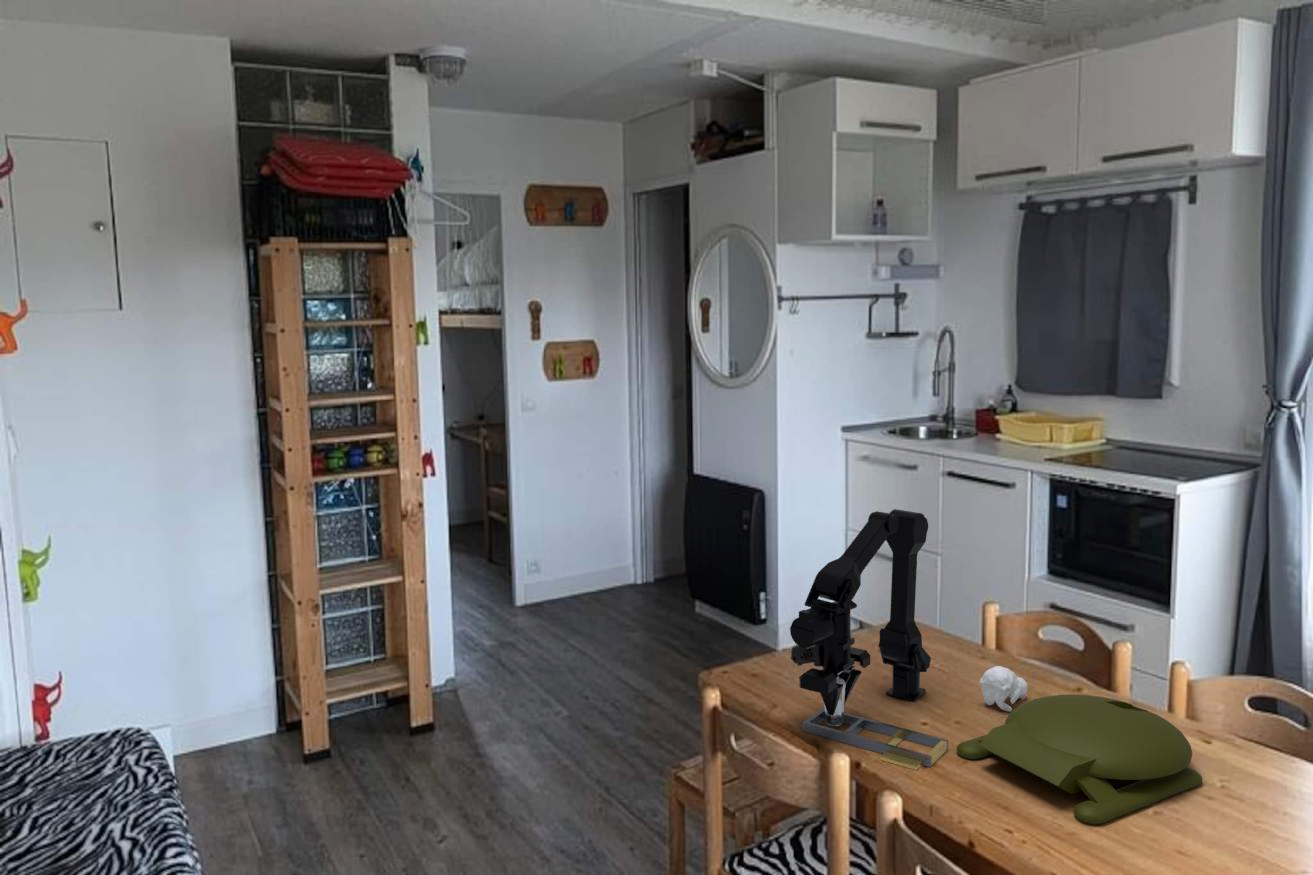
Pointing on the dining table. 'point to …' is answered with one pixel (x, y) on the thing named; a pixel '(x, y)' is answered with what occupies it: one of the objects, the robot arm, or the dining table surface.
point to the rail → (887, 748)
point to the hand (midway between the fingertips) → (835, 710)
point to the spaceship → (1093, 752)
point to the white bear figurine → (1002, 687)
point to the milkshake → (837, 708)
